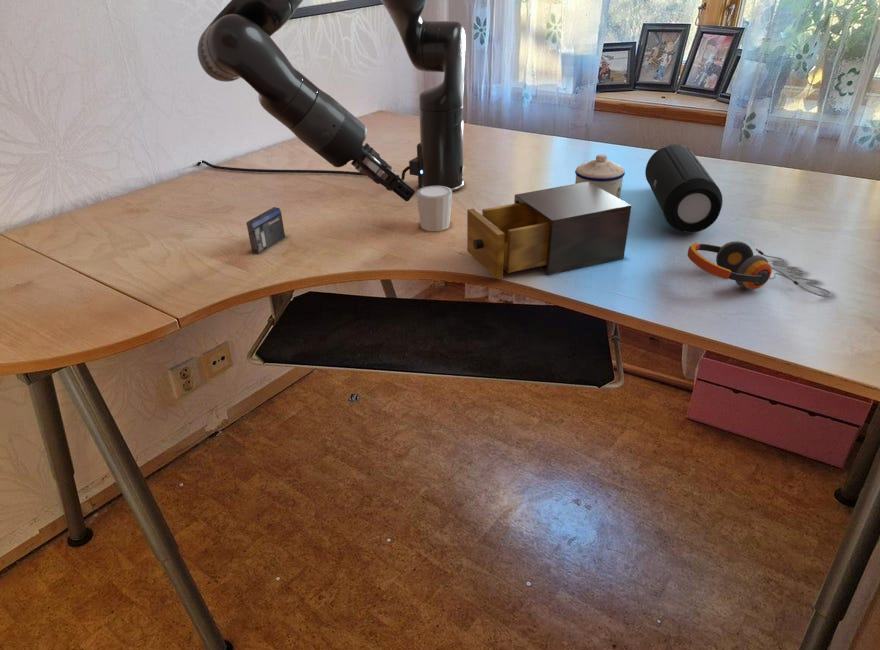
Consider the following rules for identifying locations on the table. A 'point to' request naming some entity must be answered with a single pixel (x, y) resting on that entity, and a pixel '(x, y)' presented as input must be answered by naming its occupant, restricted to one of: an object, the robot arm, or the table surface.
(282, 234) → the mini dv tape
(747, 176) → the table surface
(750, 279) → the headphones
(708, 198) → the portable speaker
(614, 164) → the teacup with lid
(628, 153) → the table surface
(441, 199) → the white faceted cylinder
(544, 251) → the wooden drawer
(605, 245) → the cabinet
